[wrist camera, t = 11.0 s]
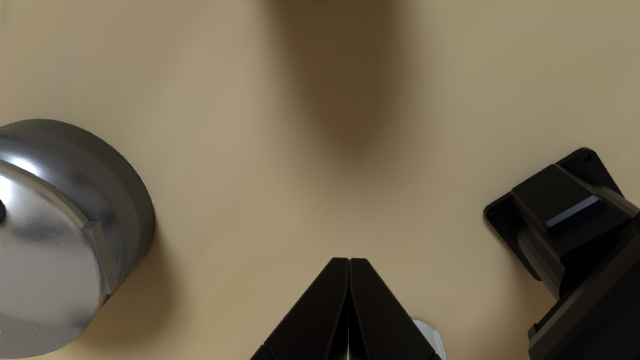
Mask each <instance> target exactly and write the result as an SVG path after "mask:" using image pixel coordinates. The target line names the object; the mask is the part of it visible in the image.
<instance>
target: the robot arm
mask: <svg viewBox="0 0 640 360" xmlns="http://www.w3.org/2000/svg"><path fill="white" fill-rule="evenodd" d="M586 154H588V156H587V158H586V159H584V160H582V157H583V156H584V155H586ZM494 210H496V211H497V212H496V213H495V214H493V215H490V214H491V212H492V211H494ZM484 214H485V216H486V218H487V219H488V221H489V222H490V223H491V224H492V226H493V227H494V228H495V229H496V231H497V232H498V233H499V234H500V236H501V237H502V238H503V239H504V241H505V242H506V243H507V244H508V246H509V247H510V248H511V250H512V251H513V252H514V253H515V255H516V256H517V257H518V258H519V260H520V261H521V262H522V263H523V265H524V266H525V267H526V268H527V270H528V271H529V272H530V274H531V275H532V276H533V277H534V279H536V280H538V281H543V282H544V284H545V285H546V287H547V288H548V289H549V291H550V292H551V294H552V295H553V296H554V298H555V299H556V300H557V303H556V304H555V305H554V306H553V307H552V308H551V309H550V311H549V312H548V313H547V314H546V315H545V316H544V317H543V318H542V319H541V321H540V322H539V323H538V324H536V323H535V324H534V325H533V326H532V327H531V328H530V329H529V330H528V337H529V343H530V345H529V350H528V352H529V356H530V360H640V208H638V207H637V206H635V205H634V204H632V203H631V202H629V201H628V200H626V199H625V197H624V196H623V194H622V193H621V191H620V190H619V188H618V187H617V185H616V183H615V182H614V180H613V179H612V177H611V176H610V174H609V173H608V171H607V169H606V168H605V166H604V165H603V163H602V162H601V160H600V158H599V157H598V155H597V154H596V152H594V151H593V150H591V149H590V148H587V147H583V148H580V149H578V150H576V151H574V152H573V153H571V154H570V155H568V156H566V157H565V158H563V159H562V160H560V161H558V162H557V163H555V164H551V165H549V166H548V167H546V168H545V169H543V170H541V171H540V172H538V173H537V174H535V175H533V176H532V177H530V178H528V179H527V180H525V181H524V182H522V183H520V184H519V185H517V186H516V187H514V188H513V189H512V191H510V192H508V193H507V194H505V195H503V196H502V197H500V198H499V199H497V200H495V201H494V202H492V203H491V204H489V205H488V206H486V207H485V209H484ZM348 329H349V360H442V359H441V358H440V356H439V355H438V354H437V353H436V352H435V350H434V348H433V347H432V346H431V344H430V343H429V342H428V340H427V339H426V338H425V336H424V335H423V334H422V332H421V331H420V330H419V328H418V327H417V326H416V324H415V323H414V322H413V320H412V319H411V318H410V316H409V315H408V314H407V312H406V311H405V310H404V308H403V307H402V305H401V304H400V303H399V301H398V300H397V299H396V297H395V296H394V295H393V293H392V292H391V291H390V289H389V288H388V287H387V285H386V284H385V283H384V281H383V280H382V279H381V277H380V276H379V275H378V273H377V272H376V271H375V269H374V268H373V267H372V265H371V264H370V263H369V261H368V260H367V259H366V258H351V259H350V265H349V259H348V258H338V257H334V258H332V259H331V260H330V261H329V263H328V264H327V265H326V266H325V268H324V269H323V270H322V271H321V272H320V274H319V275H318V276H317V277H316V279H315V280H314V281H313V282H312V284H311V285H310V286H309V287H308V289H307V290H306V291H305V292H304V294H303V295H302V296H301V297H300V298H299V300H298V301H297V302H296V303H295V305H294V306H293V307H292V308H291V310H290V311H289V312H288V313H287V315H286V316H285V317H284V318H283V319H282V321H281V322H280V323H279V324H278V326H277V327H276V328H275V329H274V331H273V332H272V333H271V334H270V336H269V337H268V338H267V339H266V341H265V342H264V345H261V346H260V348H259V349H258V350H257V351H256V353H255V354H254V355H253V356H252V358H251V359H250V360H347V355H348Z"/></svg>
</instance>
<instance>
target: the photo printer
mask: <svg viewBox="0 0 640 360" xmlns="http://www.w3.org/2000/svg"><path fill="white" fill-rule="evenodd" d="M413 322H414V323H415V324H416V326H417V327H418V328H419V330H420V331H421V332H422V334H423V335H424V336H425V338H426V339H427V340H428V342H429V343H430V344H431V346H432V347H433V348H434V350H435V352H436V353H437V354H438V355H439V356H440V358H441V359H442V360H447V359H446V355H445V352H444V348H443V344H442V341H441V338H440V335H439V333H438V331H437V330H433V329H432V328H431V326H430V325H428V324H426V323H425V322H422V321H418V320H413Z"/></svg>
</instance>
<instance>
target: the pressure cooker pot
mask: <svg viewBox="0 0 640 360" xmlns="http://www.w3.org/2000/svg"><path fill="white" fill-rule="evenodd" d="M0 159H1V160H4V161H7V162H9V163H12V164H15V165H17V166H19V167H21V168H23V169H25V170H27V171H29V172H31V173H33V174H35V175H36V176H38V177H40V178H41V179H43V180H45V181H46V182H48V183H49V184H51V185H52V186H53V187H55V188H56V189H57V190H59V191H60V192H61V193H63V194H64V195H65V196H66V197H67V198H68V199H69V200H70V201H71V202H73V203H74V204H75V205H76V207H77V208H78V209H79V210H80V211H81V212H82V213H83V214H84V215H85V217H86V218H87V219H88V221H100V223H101V226H102V230H103V233H104V236H105V240H106V243H107V246H108V250H109V253H110V256H111V260H112V263H113V267H114V270H115V273H116V277H117V280H118V283H119V284H118V286H117V287H116V288H115V290H114V291H113V293H114V292H115V291H116V290H117V289H118V288H119V287H120V285H121V284H122V283H123V282H124V281H125V280H126V279H127V277H128V276H129V275H130V274H131V273H132V272H133V271H134V269H135V268H136V267H137V266H138V265H139V264H140V262H141V261H142V260H143V259H144V258H145V256H146V255H147V253H148V251H149V250H150V248H151V245H152V242H153V239H154V233H155V216H154V209H153V206H152V202H151V199H150V196H149V194H148V192H147V189H146V187H145V185H144V184H143V182H142V180H141V179H140V177H139V175H138V174H137V173H136V171H135V170H134V169H133V167H132V166H131V165H130V164H129V163H128V162H127V161H126V159H125V158H124V157H123V156H122V155H121V154H120V153H118V152H117V151H116V150H115V149H114V148H113V147H112V146H110V145H109V144H107V143H106V142H105V141H103V140H102V139H100V138H99V137H97V136H95V135H93V134H92V133H90V132H88V131H86V130H84V129H81V128H79V127H77V126H74V125H71V124H68V123H65V122H60V121H55V120H49V119H29V120H23V121H18V122H15V123H11V124H8V125H5V126H2V127H0ZM113 293H112V294H106V297H105V300H104V302H103V304H102V306H103V305H104V304H105V303H106V302H107V300H108V299H109V298H110V297H111V296H112V295H113ZM102 306H101V307H102ZM99 310H100V309H99Z"/></svg>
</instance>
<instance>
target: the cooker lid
mask: <svg viewBox="0 0 640 360" xmlns="http://www.w3.org/2000/svg"><path fill="white" fill-rule="evenodd" d="M118 284H119V283H118V280H117V277H116V273H115V270H114V267H113V263H112V260H111V256H110V253H109V250H108V246H107V243H106V240H105V236H104V233H103V230H102V226H101V223H100V221H88V219H87V218H86V217H85V215H84V214H83V213H82V212H81V211H80V210H79V209H78V208H77V207H76V205H75V204H74V203H73V202H71V201H70V200H69V199H68V198H67V197H66V196H65V195H64V194H63V193H61V192H60V191H59V190H57V189H56V188H55V187H53V186H52V185H51V184H49V183H48V182H46V181H45V180H43V179H41V178H40V177H38V176H36V175H35V174H33V173H31V172H29V171H27V170H25V169H23V168H21V167H19V166H17V165H15V164H12V163H9V162H7V161H4V160H1V159H0V359H17V358H29V357H34V356H39V355H43V354H46V353H50V352H53V351H55V350H57V349H59V348H62V347H64V346H65V345H67V344H69V343H70V342H72V341H73V340H74V339H76V338H77V337H78V336H79V335H80V334H81V333H82V332H83V331H84V329H85V328H86V327H87V326H88V324H89V323H90V322H91V320H92V319H93V317H94V316H95V315H96V313H97V312H98V311H99V309H100V308H101V306H102V304H103V302H104V300H105V297H106V294H112V293H113V291H114V290H115V288H116V287H117V286H118Z"/></svg>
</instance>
